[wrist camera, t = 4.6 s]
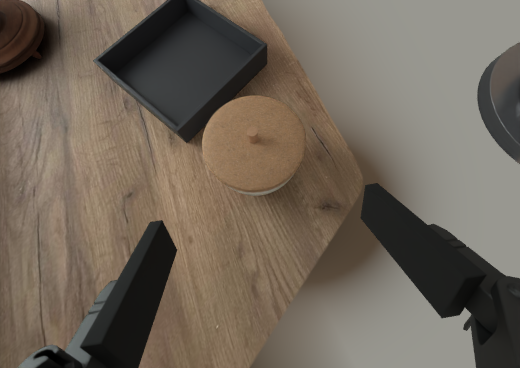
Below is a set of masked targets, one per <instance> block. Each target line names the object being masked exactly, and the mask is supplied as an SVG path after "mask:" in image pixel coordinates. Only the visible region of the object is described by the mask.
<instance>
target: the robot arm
mask: <svg viewBox="0 0 520 368" xmlns="http://www.w3.org/2000/svg"><path fill="white" fill-rule="evenodd" d="M361 219H362V220H363V222H364V223H365V224H366V225H367V227H368V228H369V229H370V230H371V232H372V233H373V234H374V235H375V236H376V238H377V239H378V240H379V241H380V242H381V244H382V245H383V246H384V247H385V248H386V250H387V251H388V252H389V254H390V255H391V256H392V257H393V259H394V260H395V261H396V262H397V263H398V265H399V266H400V267H401V268H402V270H403V271H404V272H405V273H406V275H407V276H408V277H409V278H410V279H411V281H412V282H413V283H414V284H415V286H416V287H417V288H418V289H419V291H420V292H421V293H422V294H423V296H424V297H425V298H426V299H427V300H428V302H429V303H430V304H431V305H432V306H433V308H434V309H435V310H436V312H437V313H438V314H439V315H440V316H441V318H446V317H452V316H457V315H460V314H461V312H462V311H463V309H464V308H466V309H467V310H468V311H469V312H470V313H471V314H472V315H471V316H470V318H469V319H468V320H467V322H466V323H465V324H464V328H463V329H464V330H466V331H467V330H468V329H469V327H470V326H471V331H472V339H473V346H474V353H475V362H476V368H520V279H519V278H515V277H510V276H505V275H504V274H502V273H501V272H499V271H498V270H497V269H496V268H494V267H493V266H492V265H491V264H489V263H488V262H487V261H485V260H484V259H483V258H481V257H480V256H479V255H478V254H477V253H475V252H474V251H473V250H471V249H470V248H469V247H466V245H465V244H464V243H462V242H461V241H460V240H457V238H456V237H455V236H453V235H452V234H451V233H450V232H448V231H447V230H445V229H443V228H441V227H439V226H437V225H435V224H431V225H427V224H426V223H424V222H423V221H422V220H421V219H420V218H418V217H417V216H416V215H415V214H414V213H412V212H411V211H410V210H409V209H408V208H406V207H405V206H404V205H403V204H402V203H400V202H399V201H398V200H397V199H395V198H394V197H393V196H392V195H391V194H390V193H388V192H387V191H386V190H385V189H384V188H382V187H381V186H380V185H379V184H378V183H375V184H370V185H365V192H364V199H363V205H362V212H361ZM176 252H177V249H176V247H175V245H174V243H173V241H172V239H171V237H170V235H169V233H168V231H167V229H166V227H165V225H164V223H163V221H162V220H161V221H155V222H150V223H149V225H148V227H147V229H146V230H145V232H144V234H143V236H142V238H141V239H140V241H139V243H138V245H137V246H136V248H135V250H134V252H133V253H132V255H131V257H130V259H129V261H128V262H127V264H126V266H125V268H124V269H123V271H122V273H121V275H120V276H119V278H118V280H115V281H111V282H110V283H109V284H108V285H107V286H106V287H105V288H104V289H103V290H102V291H101V292H100V294H99V296H98V297H97V299H96V301H95V302H94V305H92V307H91V309H90V310H89V312H88V313H89V314H88V315H86V317H85V319H84V320H83V322H82V324H81V325H80V327H79V328H78V330H77V332H76V333H75V335H74V337H73V338H72V340H71V342H70V343H69V345H68V347H67V348H66V350H65V351H64V350H62V349H61V348H59V347H58V346H55V345H49V346H46V347H43V348H41V349H39V350H38V351H36V352H34V353H33V354H32V355H31V356H29V357H28V358H27V359H26V360H25V361H24V362H23V363H22V364H21V365H20V366H19V367H18V368H138V367H139V364H140V361H141V358H142V355H143V352H144V349H145V346H146V343H147V340H148V337H149V334H150V331H151V328H152V325H153V322H154V319H155V316H156V313H157V310H158V307H159V304H160V301H161V298H162V295H163V292H164V289H165V286H166V283H167V280H168V277H169V273H170V270H171V267H172V264H173V261H174V258H175V255H176Z"/></svg>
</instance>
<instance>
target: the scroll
mask: <svg viewBox="0 0 520 368" xmlns="http://www.w3.org/2000/svg"><path fill="white" fill-rule="evenodd" d="M43 35H44V22H43V19H42V17H41V16H40V15H39V13H38V12H36V11H35V10H34V9H33V8H32V7H31V6H30V5H29V4H27V3H25V2H23V1H20V0H0V73H3V72H6V71H9V70H11V69H13V68H15V67H17V66H18V65H20V64H21V63H23V62H24V61H25V60H27V59H28V58H29V57H30V56H33V57H35V58H38V59H41V58H42V57H41V55H40V54H39V53H38V52H37V51H36V49H37V48H38V46H39V45H40V43H41V41H42V38H43Z"/></svg>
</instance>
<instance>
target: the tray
mask: <svg viewBox="0 0 520 368" xmlns="http://www.w3.org/2000/svg"><path fill="white" fill-rule="evenodd" d="M93 61H94V62H95V63H96V64H97V65H98V66H99V67H100V68H101V69H102V70H103V71H104V72H105V73H106V74H107V75H108V76H109V77H110V78H111V79H112V80H113V81H114V82H115V83H117V84H118V85H119V86H120V87H121V88H123V89H124V90H125V91H126V92H127V93H128V94H130V95H131V96H132V97H133V98H134V99H136V100H137V101H138V102H139V103H140V104H141V105H143V106H144V107H145V108H146V109H147V110H148V111H150V112H151V113H152V114H153V115H154V116H156V117H157V118H158V119H159V120H160V121H161V122H163V123H164V124H165V125H166V126H167V127H169V128H170V129H171V130H172V131H173V132H174V133H176V134H177V135H178V136H179V137H180V138H181V139H183V140H184V141H185V142H186V143H188V142H189V141H190V140H191V139H192V138H193V137H194V136H195V135H196V134H197V133H198V132H199V131H200V130H201V129H202V128H203V127H204V126H205V125H206V124H207V123H208V122H209V120H210V118H211V117H212V116H213V114H214V113H215V112H216V111H217V110H218V109H219V108H221V107H222V106H223V105H225V104H226V103H228V102H229V101H230V100H231V99H232V98H233V97H234V96H235V95H236V94H237V93H238V92H239V91H240V90H241V89H242V88H243V87H244V86H245V85H246V84H247V83H248V82H249V81H250V80H251V79H252V78H253V77H254V76H255V75H256V74H257V73H258V72H259V71H260V70H261V69H262V68H263V67H264V66H265V65H266V64H267V44H266V43H264V42H263V41H261V40H260V39H258V38H257V37H255V36H254V35H252V34H250V33H249V32H247V31H246V30H244V29H243V28H241V27H240V26H238V25H237V24H235V23H233V22H232V21H230V20H229V19H227V18H226V17H224V16H223V15H221V14H220V13H218V12H216V11H215V10H213V9H212V8H210V7H209V6H207V5H206V4H204V3H202V2H201V1H199V0H167V1H166V2H164V3H163V4H162V5H161V6H160V7H158V8H157V9H156V10H155V11H153V12H152V13H151V14H150V15H148V16H147V17H146V18H145V19H144V20H142V21H141V22H140V23H139V24H137V25H136V26H135V27H134V28H132V29H131V30H130V31H129V32H128V33H126V34H125V35H124V36H123V37H121V38H120V39H119V40H118V41H117V42H115V43H114V44H113V45H112V46H110V47H109V48H108V49H107V50H105V51H104V52H103V53H102V54H101V55H99V56H98V57H97V58H96V59H94V60H93Z"/></svg>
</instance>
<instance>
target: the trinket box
mask: <svg viewBox="0 0 520 368" xmlns="http://www.w3.org/2000/svg"><path fill="white" fill-rule="evenodd" d="M305 149H306V135H305V131H304V127H303V125H302V123H301V121H300V119H299V117H298V116H297V115H296V113H295V112H294V111H293V110H292V109H291V108H290V107H288V106H287V105H285V104H284V103H282V102H280V101H278V100H276V99H273V98H271V97H266V96H257V95H253V96H245V97H240V98H237V99H235V100H232V101H230V102H228V103H226V104H225V105H223V106H222V107H221V108H219V109H218V110H217V111H216V112H215V113H214V114H213V116H212V117H211V118H210V120H209V122H208V123H207V125H206V128H205V130H204V133H203V139H202V150H203V156H204V159H205V161H206V164H207V165H208V167H209V169H210V170H211V172H212V173H213V174H214V175H215V177H217V178H218V179H219V180H220V181H221V182H222V183H224V184H225V185H226V186H228V187H229V188H231V189H232V190H234V191H236V192H239V193H241V194H245V195H252V196H259V195H265V194H269V193H272V192H274V191H276V190H278V189H280V188H281V187H282V186H284V185H285V184H286V183H287V182H288V181H289V180H290V179H291V178H292V176H293V175H294V173H295V172H296V171H297V169H298V168H299V166H300V164H301V162H302V160H303V157H304V154H305Z"/></svg>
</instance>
